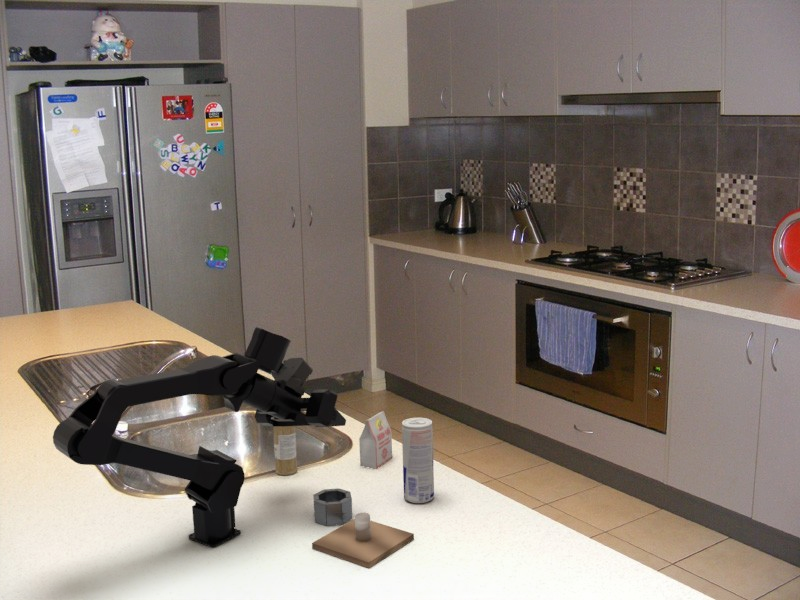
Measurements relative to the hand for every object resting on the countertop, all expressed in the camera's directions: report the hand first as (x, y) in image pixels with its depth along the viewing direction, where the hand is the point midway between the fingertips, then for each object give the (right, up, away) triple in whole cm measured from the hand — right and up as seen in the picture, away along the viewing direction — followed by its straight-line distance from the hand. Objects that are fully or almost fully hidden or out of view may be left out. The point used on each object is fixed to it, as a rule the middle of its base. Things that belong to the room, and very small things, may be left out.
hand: (328, 422), depth 169 cm
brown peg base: (+7, -18, -17) cm, 26 cm away
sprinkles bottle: (-10, -12, +15) cm, 22 cm away
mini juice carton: (+8, -11, +19) cm, 23 cm away
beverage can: (+17, -14, 0) cm, 22 cm away
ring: (+1, -16, -6) cm, 17 cm away
